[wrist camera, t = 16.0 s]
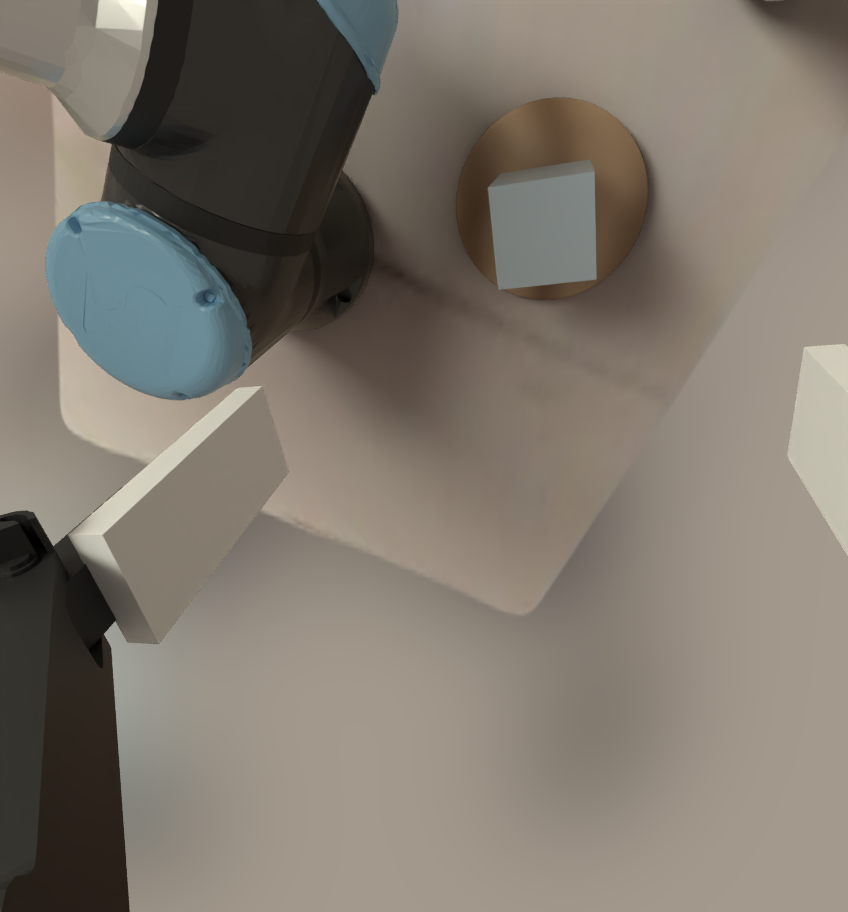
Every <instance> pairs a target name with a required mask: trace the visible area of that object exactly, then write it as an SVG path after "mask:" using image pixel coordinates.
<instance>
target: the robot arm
mask: <svg viewBox="0 0 848 912" xmlns="http://www.w3.org/2000/svg"><path fill="white" fill-rule="evenodd" d="M397 23H398V7H397V1H396V0H0V73H3V74H6V75H10V76H13V77H16V78H19V79H22V80H25V81H29V82H32V83H35V84H38V85H41V86H45V87H46V88H47V89H48V90H49V91H50V92H52V93H53V94H54V95H55V96H56V97H57V99H58V100H59V101H60V103H61V104H62V105H63V107H64V108H65V109H66V111H67V112H68V113H69V114H70V116H71V117H72V118H73V120H74V121H75V122H76V124H77V125H78V126H79V128H80V129H81V130H82V131H83V133H84V134H85V135H87V136H89V137H92V138H94V139H96V140H99V141H103V142H107V143H111V144H112V146H111V152H110V157H109V163H108V168H107V173H106V178H105V183H104V189H103V194H102V198H101V201H100V202H92V203H87V204H84V205H82V206H80V207H79V208H77V209H76V210H75V211H74V212H73V213H71V214H70V216H68V217H67V218H65V219H64V220H63V221H61V222H60V223H59V225H58V226H57V227H56V228H55V230H54V232H53V234H52V236H51V238H50V240H49V243H48V246H47V251H46V258H45V259H46V260H45V267H46V278H47V283H48V288H49V291H50V295H51V298H52V300H53V303H54V306H55V308H56V310H57V312H58V314H59V316H60V318H61V320H62V322H63V323H64V325H65V326H66V327H67V328H68V329H69V330H70V331H71V332H72V334H73V335H74V336H75V338H76V340H77V342H78V344H79V346H80V347H81V348H82V350H83V351H84V352H85V353H86V354H87V355H88V356H89V357H90V358H91V359H92V360H93V361H94V362H95V363H96V364H97V365H98V366H100V367H101V368H102V369H103V370H104V371H106V372H107V373H108V374H110V375H111V376H112V377H114V378H115V379H117V380H119V381H120V382H122V383H124V384H125V385H127V386H129V387H131V388H133V389H135V390H137V391H139V392H142V393H144V394H147V395H150V396H154V397H158V398H162V399H168V400H185V399H193V398H200V397H203V396H206V395H208V394H210V393H212V392H214V391H216V390H217V389H219V388H221V387H223V386H224V385H226V384H229V383H231V382H232V381H235V380H236V379H238V377H240V376H241V375H242V374H243V372H244V371H245V369H246V368H247V367H249V366H250V365H251V364H252V363H253V362H254V361H256V360H257V359H258V358H259V357H260V356H261V355H263V354H264V353H265V352H266V351H267V350H268V349H270V348H271V347H272V346H273V345H274V344H276V343H277V342H278V341H279V340H280V339H281V338H283V337H284V336H285V335H286V334H287V333H288V332H290V331H301V330H310V329H314V328H318V327H321V326H323V325H326V324H328V323H330V322H332V321H334V320H335V319H337V318H338V317H340V316H341V315H342V314H343V313H345V312H346V311H347V310H348V309H349V308H350V307H351V306H352V305H353V304H354V303H355V302H356V300H357V299H358V298H359V297H360V295H361V294H362V292H363V290H364V288H365V286H366V284H367V282H368V279H369V276H370V273H371V270H372V265H373V257H374V239H373V231H372V226H371V221H370V218H369V215H368V212H367V209H366V207H365V204H364V202H363V200H362V198H361V196H360V194H359V193H358V191H357V189H356V188H355V186H354V185H353V183H352V182H351V181H350V179H349V178H348V177H347V176H346V175H345V174H344V173H343V171H342V169H343V167H344V164H345V162H346V159H347V157H348V154H349V152H350V149H351V147H352V144H353V142H354V139H355V137H356V134H357V132H358V129H359V126H360V124H361V121H362V119H363V116H364V114H365V111H366V109H367V106H368V104H369V101H370V99H371V96H372V95H376V94H377V93H378V91H379V89H380V74H381V71H382V68H383V65H384V63H385V60H386V57H387V54H388V51H389V48H390V46H391V43H392V40H393V37H394V34H395V31H396V28H397ZM787 457H788V459H789V461H790V462H791V464H792V465H793V467H794V469H795V470H796V472H797V474H798V475H799V477H800V479H801V480H802V482H803V484H804V485H805V487H806V489H807V490H808V492H809V493H810V495H811V496H812V498H813V500H814V502H815V503H816V505H817V507H818V508H819V510H820V512H821V513H822V515H823V516H824V518H825V520H826V521H827V523H828V525H829V526H830V528H831V530H832V531H833V533H834V534H835V536H836V538H837V539H838V541H839V543H840V544H841V546H842V548H843V549H844V551H845V552H846V554H847V556H848V347H847V346H846V345H845V344H839V345H825V346H811V347H804V351H803V357H802V364H801V370H800V377H799V383H798V390H797V397H796V403H795V409H794V416H793V422H792V429H791V435H790V441H789V448H788V454H787ZM288 473H289V470H288V467H287V464H286V461H285V457H284V454H283V451H282V448H281V445H280V441H279V438H278V435H277V432H276V429H275V425H274V422H273V419H272V416H271V413H270V410H269V406H268V403H267V400H266V397H265V394H264V390H263V387H262V386H256V387H242V388H237V389H235V390H234V391H233V392H232V393H231V394H230V395H229V396H227V397H226V398H225V399H224V400H223V401H222V402H220V403H219V404H218V405H217V406H216V407H215V408H214V409H212V410H211V411H210V412H209V413H208V414H207V415H206V416H204V417H203V418H202V419H201V420H200V421H199V422H197V423H196V424H195V425H194V426H193V427H192V428H191V429H189V430H188V431H187V432H186V433H185V434H184V435H182V436H181V437H180V438H179V439H178V440H177V441H176V442H174V443H173V444H172V445H171V446H170V447H169V448H167V449H166V450H165V451H164V452H163V453H162V454H161V455H159V456H158V457H157V458H156V459H155V460H154V461H152V462H151V463H150V464H149V465H148V466H147V467H146V468H144V469H143V470H142V471H141V472H140V473H139V474H137V476H135V477H134V478H133V479H132V480H131V481H129V482H128V483H127V484H126V485H125V486H123V487H122V488H120V489H119V490H118V491H117V492H116V493H115V494H114V495H112V496H111V497H110V498H109V499H108V500H107V501H106V502H105V503H103V504H102V505H101V506H100V507H98V508H97V509H96V510H95V511H94V513H93V514H90V515H89V516H88V517H87V518H86V519H85V520H83V521H82V522H81V523H80V524H79V525H78V526H76V527H75V528H74V529H73V530H72V531H71V532H69V533H68V534H67V535H66V536H65V537H64V538H63V539H61V540H60V541H59V542H58V543H57V544H56V545H55V546H53V545H52V544H51V542H50V540H49V538H48V537H47V535H46V533H45V532H44V530H43V528H42V526H41V524H40V523H39V521H38V519H37V518H36V516H35V514H34V513H33V512H29V511H16V512H11V513H8V514H4V515H0V912H129V897H128V882H127V868H126V853H125V839H124V825H123V811H122V797H121V782H120V768H119V754H118V740H117V725H116V711H115V697H114V682H113V668H112V654H111V647H110V645H109V643H108V641H107V639H106V637H105V636H104V633H105V632H106V631H107V630H108V629H109V627H110V626H111V625H112V624H113V623H114V622H115V621H116V623H117V625H118V626H119V628H120V630H121V632H122V634H123V635H124V637H125V639H126V641H127V642H130V643H148V644H149V643H150V644H159V643H160V642H161V641H162V639H163V638H164V637H165V636H166V634H167V633H168V631H169V630H170V629H171V628H172V626H173V625H174V624H175V622H176V621H177V620H178V618H179V617H180V616H181V614H182V613H183V612H184V610H185V609H186V608H187V606H188V605H189V604H190V602H191V601H192V600H193V598H194V597H195V596H196V594H197V593H198V592H199V590H200V589H201V588H202V587H203V585H204V584H205V583H206V581H207V580H208V579H209V577H210V576H211V575H212V573H213V572H214V571H215V569H216V568H217V567H218V565H219V564H220V563H221V561H222V560H223V559H224V557H225V556H226V555H227V553H228V552H229V551H230V549H231V548H232V547H233V545H234V544H235V543H236V541H237V540H238V539H239V537H240V536H241V535H242V533H243V532H244V531H245V530H246V528H247V527H248V526H249V524H250V523H251V522H252V520H253V519H254V518H255V516H256V515H257V514H258V512H259V511H260V510H261V508H262V507H263V506H264V504H265V503H266V502H267V500H268V499H269V498H270V496H271V495H272V494H273V492H274V491H275V490H276V488H277V487H278V486H279V484H280V483H281V482H282V480H283V479H284V478H285V476H286V475H287V474H288Z"/></svg>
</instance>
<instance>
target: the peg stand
mask: <svg viewBox="0 0 848 912" xmlns="http://www.w3.org/2000/svg"><path fill="white" fill-rule="evenodd" d="M583 160H591V163H592V166H593V169H594V171H595V223H596V276H597V279H596V280H587V281H577V282H568V283H558V284H549V285H540V286H530V287H521V288H511V289H504V290H506V291H508V292H510V293H512V294H515V295H518V296H521V297H526V298H530V299H540V300H547V299H558V298H564V297H568V296H572V295H575V294H578V293H580V292H582V291H585V290H587V289H589V288H591V287H592V286H594V285H596V284H598V283H599V282H600V281H602V280H603V279H604V278H606V277H607V276H608V275H610V274H611V273H612V272H613V271H614V270H615V269H616V268H617V267H618V266H619V265H620V263H621V262H622V261H623V260H624V259H625V257H626V256H627V255H628V253H629V251H630V250H631V248H632V247H633V245H634V243H635V241H636V239H637V237H638V235H639V233H640V230H641V227H642V224H643V221H644V218H645V213H646V208H647V199H648V181H647V174H646V168H645V164H644V161H643V158H642V155H641V152H640V150H639V148H638V146H637V144H636V142H635V140H634V139H633V137H632V136H631V134H630V133H629V132H628V130H627V129H626V128H625V127H624V126H623V125H622V124H621V123H620V121H619V120H618V119H616V118H615V117H614V116H612V115H611V114H610V113H609V112H607V111H605V110H604V109H602V108H600V107H598V106H596V105H594V104H591V103H588V102H586V101H583V100H577V99H572V98H547V99H541V100H537V101H533V102H529V103H527V104H525V105H522V106H520V107H517V108H515V109H514V110H512V111H510V112H509V113H507V114H505V115H504V116H503V117H501V118H500V119H499V120H497V121H496V122H495V123H494V124H493V125H492V126H491V127H490V128H489V129H488V130H487V131H486V132H485V133H484V134H483V135H482V136H481V138H480V139H479V140H478V142H477V143H476V144H475V146H474V148H473V149H472V151H471V153H470V154H469V156H468V158H467V161H466V163H465V165H464V167H463V170H462V173H461V177H460V180H459V185H458V190H457V200H456V213H457V223H458V228H459V233H460V236H461V239H462V242H463V244H464V247H465V249H466V251H467V253H468V255H469V256H470V258H471V260H472V261H473V263H474V264H475V265H476V267H477V268H478V269H479V270H480V272H481V273H482V274H483V275H485V276H486V277H487V278H488V279H489V280H490V281H491V282H493V283H494V284H496V285H497V275H496V265H495V255H494V244H493V234H492V224H491V214H490V204H489V194H488V187H489V186H490V185H491V184H492V183H493V182H494V180H495V179H496V178H497V177H498V176H499V175H500V174H501V173H506V172H513V171H519V170H526V169H532V168H538V167H545V166H551V165H558V164H564V163H570V162H577V161H583ZM497 286H498V285H497Z"/></svg>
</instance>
